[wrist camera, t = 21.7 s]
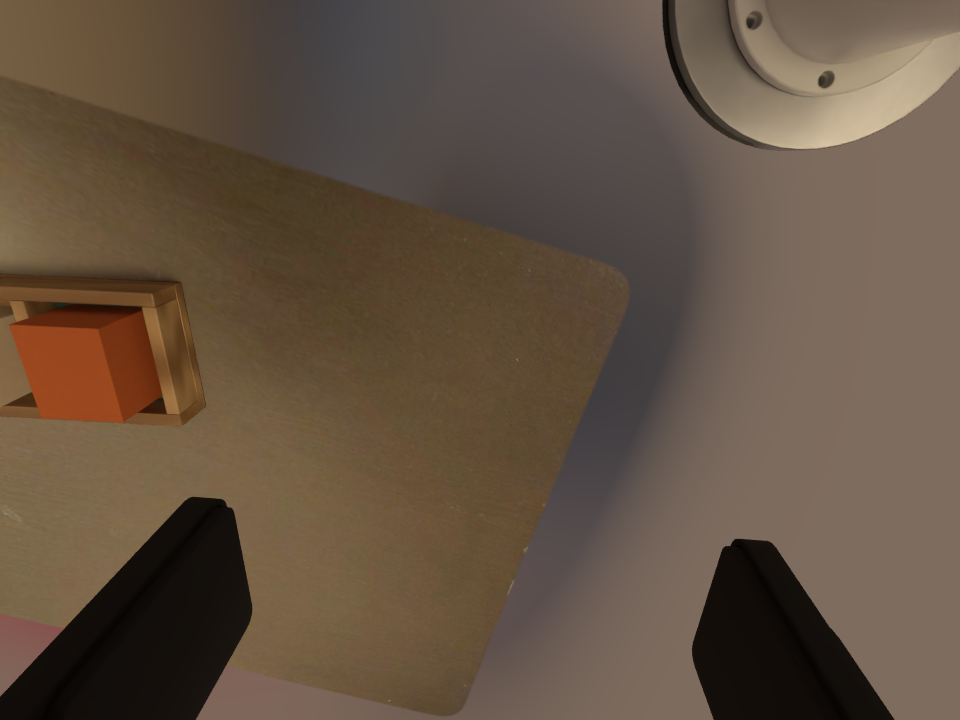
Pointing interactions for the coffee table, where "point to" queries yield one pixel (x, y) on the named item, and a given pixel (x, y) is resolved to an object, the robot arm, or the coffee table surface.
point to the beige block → (10, 362)
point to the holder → (163, 328)
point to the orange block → (88, 362)
